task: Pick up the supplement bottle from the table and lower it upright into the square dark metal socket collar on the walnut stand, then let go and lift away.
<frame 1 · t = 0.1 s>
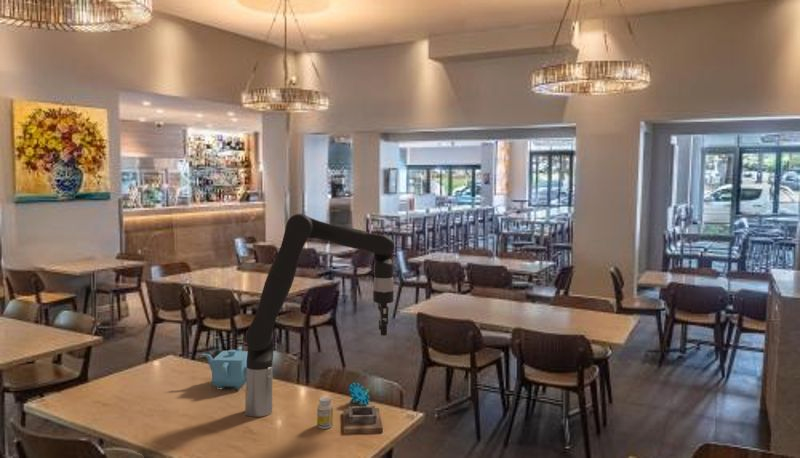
hand: (382, 332, 215), 29 cm above the table, tool pointing down, fingers open, 8 cm apart
supplement bottle: (324, 426, 201), on the table
teakettle: (232, 384, 242), on the table
socket stand: (362, 422, 204), on the table
gear: (359, 403, 223), on the table
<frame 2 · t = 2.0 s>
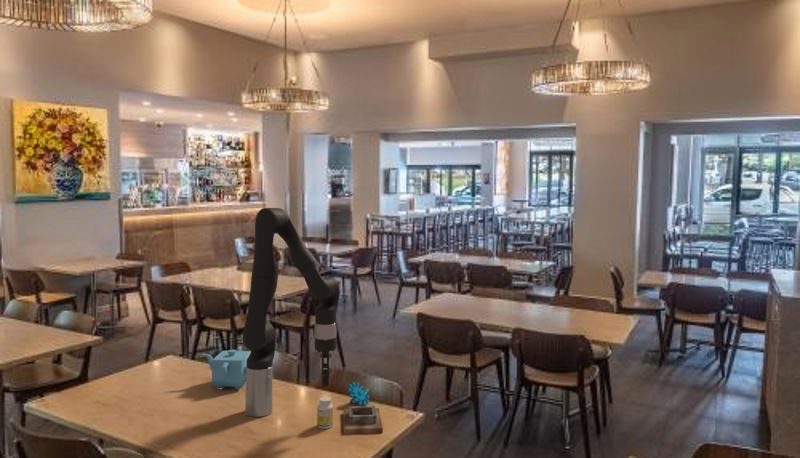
hand: (325, 382, 200), 16 cm above the table, tool pointing down, fingers open, 8 cm apart
nothing on the table moved.
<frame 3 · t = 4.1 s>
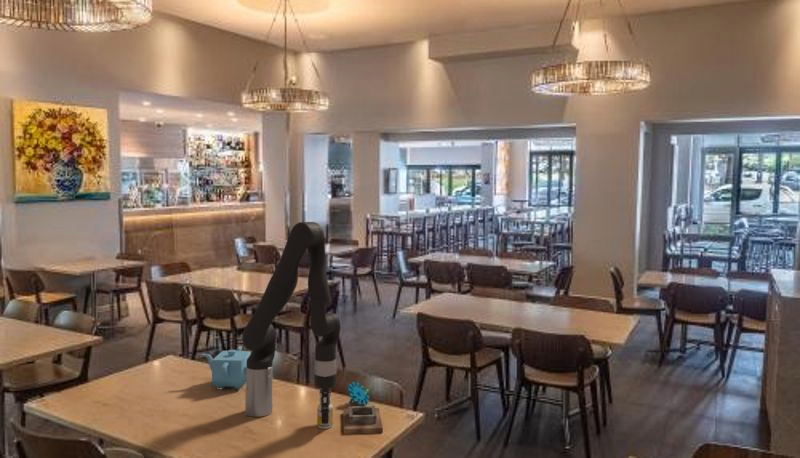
hand: (325, 419, 201), 2 cm above the table, tool pointing down, fingers closed on supplement bottle, 5 cm apart
supplement bottle: (325, 426, 201), on the table, touching gripper
everything else where it was.
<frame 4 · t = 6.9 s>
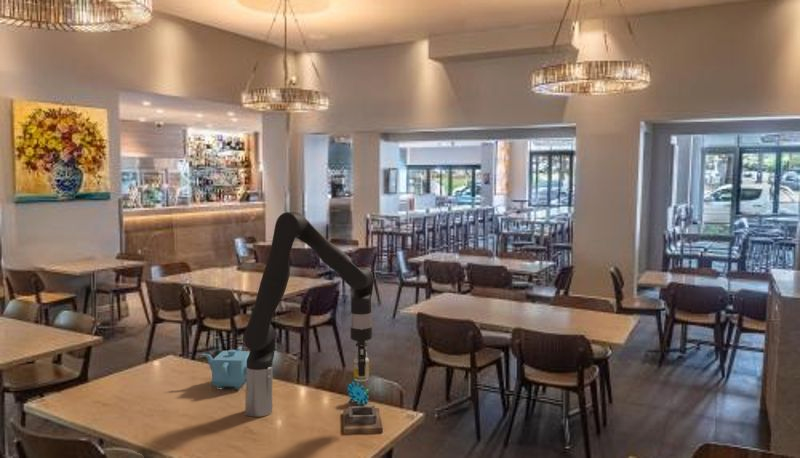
hand: (361, 372, 203), 18 cm above the table, tool pointing down, fingers closed on supplement bottle, 5 cm apart
supplement bottle: (361, 379, 203), point 15 cm above the table, touching gripper
everything else where it was.
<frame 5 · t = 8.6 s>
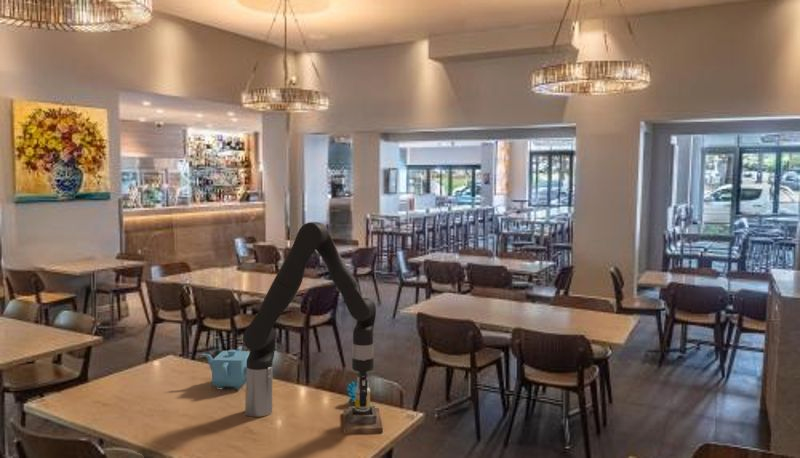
hand: (362, 402, 204), 7 cm above the table, tool pointing down, fingers closed on supplement bottle, 5 cm apart
supplement bottle: (362, 409, 204), point 5 cm above the table, touching gripper
everything else where it was.
when the fingers open (5 cm above the table, at t = 9.8 s): supplement bottle drops 1 cm, resting on socket stand.
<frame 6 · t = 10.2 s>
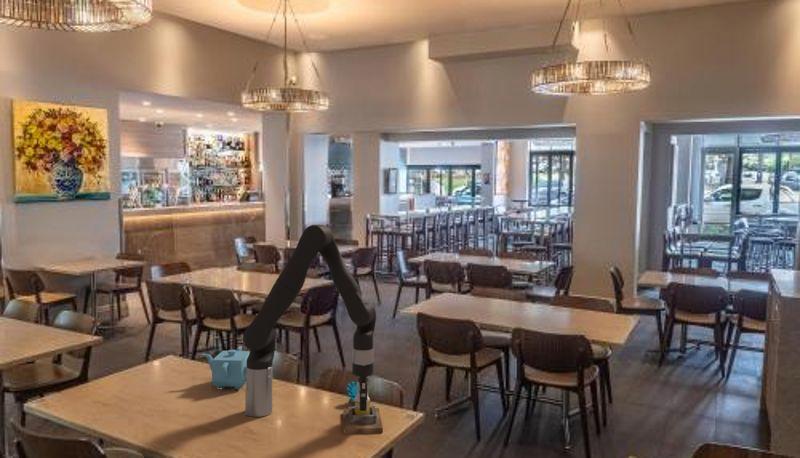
hand: (362, 405, 204), 6 cm above the table, tool pointing down, fingers open, 8 cm apart
supplement bottle: (362, 418, 205), point 1 cm above the table, touching socket stand
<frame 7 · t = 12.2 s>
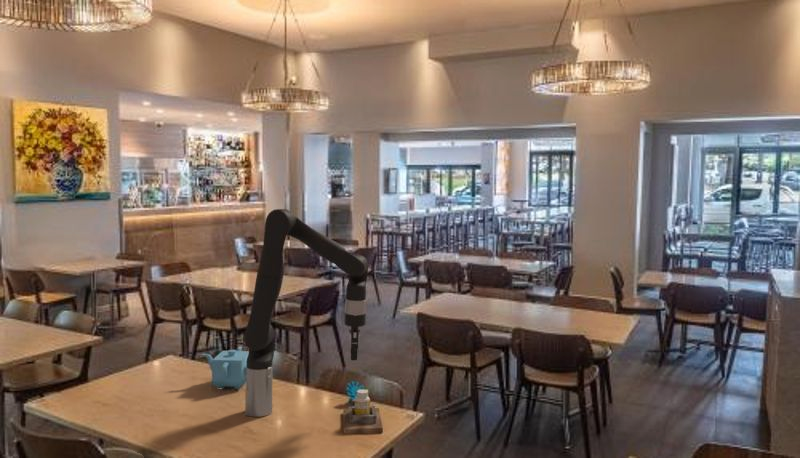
hand: (353, 356, 207), 22 cm above the table, tool pointing down, fingers open, 8 cm apart
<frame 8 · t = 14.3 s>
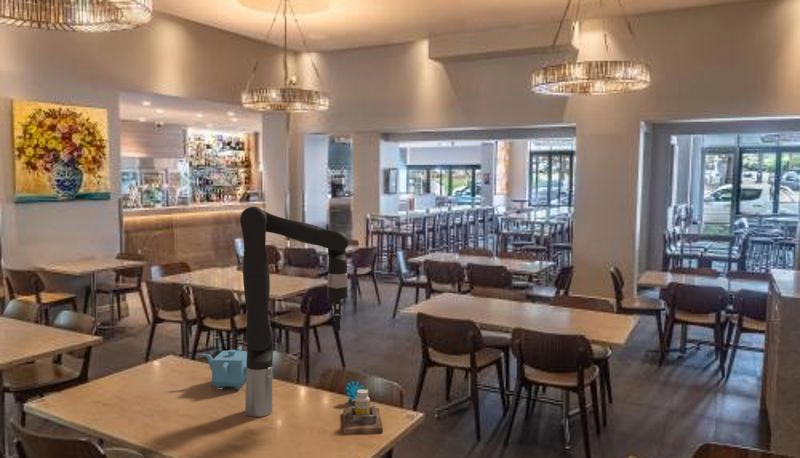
hand: (337, 327, 217), 30 cm above the table, tool pointing down, fingers open, 8 cm apart
at the end: supplement bottle 0.2 cm off-centre on the socket stand, point 1.4 cm above the socket stand's base; supplement bottle tilted 0°; the gripper is holding nothing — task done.
